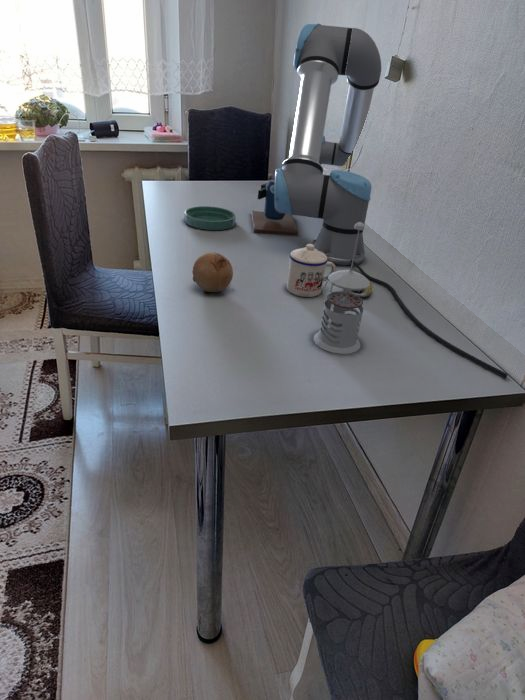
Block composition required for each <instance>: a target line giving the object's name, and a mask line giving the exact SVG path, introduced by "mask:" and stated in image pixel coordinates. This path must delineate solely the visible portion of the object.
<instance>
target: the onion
mask: <svg viewBox="0 0 525 700" xmlns="http://www.w3.org/2000/svg"><path fill="white" fill-rule="evenodd" d="M191 273H192V280H193V283H196V285H197V286H198V287H199V288H200V289H201V290H202V291H203V292H208V293H219V292H222V291H224V290H225V289H227V288H228V287H229V285H231V282H232V280H233V277H234V270H233V267H232V263H231V262H230V259H228V258H227V257H225V256H224V255H222V254H221V253H218V252H205V253H203V254H201V255H199V257H198V258H197V259H196V260H195V262H194V264H193V266H192V270H191Z"/></svg>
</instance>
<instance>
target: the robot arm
mask: <svg viewBox="0 0 525 700" xmlns="http://www.w3.org/2000/svg"><path fill="white" fill-rule="evenodd" d="M293 69H294V70H295V71H297V72H296V73H297V74H296V75H297V77H298V79H299V80H300V86H299V91H298V92H299V94H298V99H297V104H296V111H295V117H294V123H293V129H292V136H291V141H290V146H289V147H290V148H289V154H288V158H286V159H285V160H283V162H282V164H281V168H279V167H278V168H276V169H275V173H274V179H275V208H276V210H277V211H278V212H280V213H285V214H289V215H292V216H299V217H305V218H306V217H307V218H313V219H321V220H322V226H321V229H320V231H319V233H318V235H317V237H316V239H313V241H312V244H313V245H314V246H315V247H314V248H315V249H317V250H318V251H320V252H322V253H324V254H325V255H326V256H327V259H328V262H332V263H333V264H334V265H335V266H343V267H344V266H346V267H351V265H352V259H353V254H354V249H355V244H356V239H357V234H358V230H356V229H354V225H355V224H356V223H358V222H361V223H363V224H364V226H365V224H366V219H367V214H368V208H369V204H370V201H371V195H372V194H371V193H372V183H371V181H370V180H369V179H368V178H367V177H365V176H363V175H361V174H358V173H355V172H352V171H348V170H342V169H333V170H331V172H330V173H329V175H328V174H323V173H324V167H323V166H322V165H327V166H335V167H341V166H343V165H344V164H345V162H346V161H347V159H348V157H349V156H350V155H351V153H352V151H353V150H354V148H355V146H356V144H357V141H358V139H359V136H360V134H361V131H362V129H363V126H364V123H365V120H366V117H367V114H368V115H369V113H368V111H369V112H370V108H371V103H372V99H373V95H374V91H375V88H376V87H377V86H378V85H379V83H380V79H381V75H382V59H381V55H380V51H379V48H378V47H377V44H376V42H375V41H374V40H373V38H372V36H371V35H370V34H368V33H367V32H366V31H365V30H362V29H361V28H358V27H345V26H336V25H335V26H334V25H325V24H321V23H307V24H305V25H304V26H303V27H302V28H301V30H300V32H299V35H298V37H297V42H296V45H295V51H294V56H293ZM339 76H346V82H347V83H348V90H347V96H346V100H345V105H344V106H345V107H344V113H343V120H342V125H341V131H340V137H339V142H334V141H333V142H332V141H327V140H326V136H325V134H324V133H325V127H326V121H327V120H326V119H327V116H328V115H327V114H328V109H329V102H330V96H331V90H332V86H333V85H334V84H335V83H336V82H337V81H338V79H339ZM367 118H368V117H367ZM267 184H268V182H266V183H263V184H260V189H258V190H257V200H262V199H265V198H266V188H267ZM365 256H366V251H365V241H364V230H360V231H359V236H358V241H357V246H356V251H355V256H354V261H353V266H354V267H355V268H357V270H358V271H359V273H360V274H361V275H363V276H365V277H366V278H367V279H368V280H369V281H373V282H374V283H378V284H380V285H383V286H384V287H386V288H388V290H389V291H391V293H392V296H393V297H394V298H395V300H396V301H397V302H398V304H399V305H400V307H401V308H402V309H403V311H404V312H405V313H406V314H407V315H408V316H409V318H410V319H411V320H412V321H413V322H414V323H415V324H416V325H417V326H418V327H420V329H422V330H423V331H424V332H426V333H427V334H428V335H430V337H432V338H434V339H435V340H436V341H438V342H439V343H441V344H443V345H444V346H445V347H448V348H450V350H452V351H454V352H456V353H458V354H460V355H461V356H463V357H465V358H467V359H469V360H471V361H473V362H474V363H477V364H478V365H481V366H482V367H484V368H486V369H488V370H489V371H492V372H494V373H496V374H498V375H499V376H502V377H503V378H507V377H508V375H509V374H508V373H506V372H505V371H503V370H501V369H499V368H497V367H495V366H493V365H491V364H489V363H487V362H485V361H483V360H481V359H479V358H477V357H476V356H474V355H472V354H470V353H468V352H467V351H464V350H462V349H461V348H459V347H457V346H455V345H454V344H452V343H450V342H449V341H447V340H445V339H444V338H442V337H441V336H439V335H438V334H436V333H435V332H433V331H432V330H431V329H429V328H428V327H427V326H425V325H424V324H423V323H422V322H420V321H419V320H418V318H417V317H416V316H415V315H413V313H412V312H411V311H410V310H409V308H407V306H406V305H405V304H404V302H403V300H402V299H401V297H399V295H398V294H397V291H396V289H394V287H393V286H391V285H390V284H389V283H388V282H385V281H383V280H381V279H378V278H376V277H373V276H371V275H369V274H367V272H365V271H364V269H363V268H362V267H361V266H360V264H362V263H363V262H364V260H365Z"/></svg>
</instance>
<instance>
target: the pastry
mask: <svg viewBox="0 0 525 700" xmlns="http://www.w3.org/2000/svg"><path fill="white" fill-rule="evenodd" d="M369 282H370V286H369V287H368V288H366V289H365V290H360V291H351V290H348V291H347V292H348V293H352V294H355V295H358V296H359V297H360V298H367V297H369V296H370V295H371V294H372V292H373V286H372V285H373V284H372V282H371V280H369ZM343 292H346V290H345V289H343Z"/></svg>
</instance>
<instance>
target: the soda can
mask: <svg viewBox="0 0 525 700" xmlns="http://www.w3.org/2000/svg"><path fill="white" fill-rule="evenodd" d="M267 183H268V184H267V188H266V197H264V199H265V200H264V209H263V212H264V214H265V217H266V218H267V219H270V220H282V219H283V217H284V216H285V213H280V212H278V211H277V210H276V208H275V178H269V179H268V182H267Z"/></svg>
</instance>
